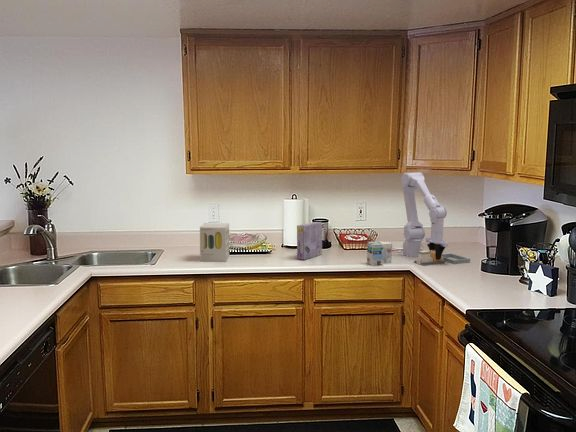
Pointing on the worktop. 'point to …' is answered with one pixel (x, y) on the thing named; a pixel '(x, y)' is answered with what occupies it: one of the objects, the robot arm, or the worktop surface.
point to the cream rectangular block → (424, 256)
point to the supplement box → (214, 242)
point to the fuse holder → (429, 262)
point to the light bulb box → (379, 253)
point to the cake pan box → (309, 240)
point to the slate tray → (460, 258)
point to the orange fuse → (434, 255)
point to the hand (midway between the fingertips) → (435, 258)
